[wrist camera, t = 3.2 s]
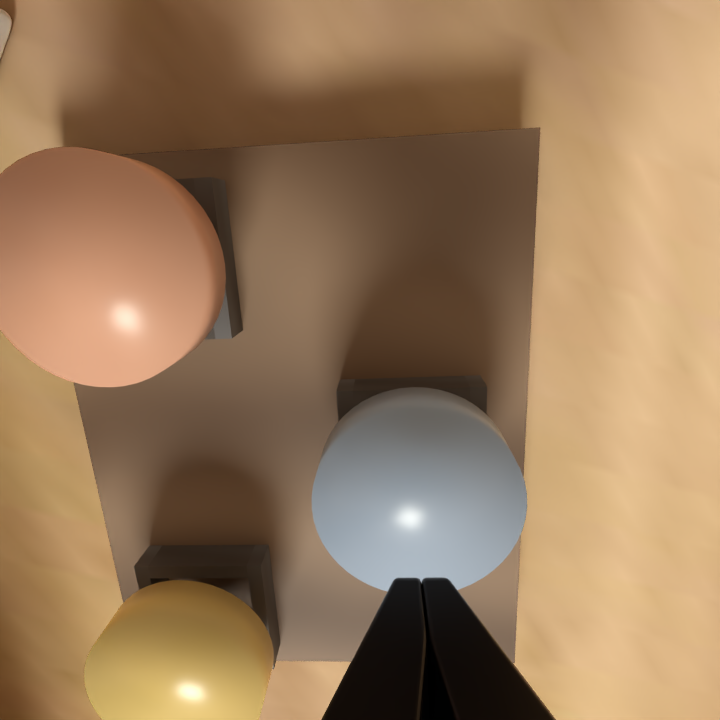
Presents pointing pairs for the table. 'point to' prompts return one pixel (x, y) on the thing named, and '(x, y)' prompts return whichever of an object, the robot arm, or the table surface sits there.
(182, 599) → the ochre button
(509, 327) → the board
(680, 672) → the table surface
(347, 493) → the slate-blue button
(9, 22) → the skincare box
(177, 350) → the terracotta button
